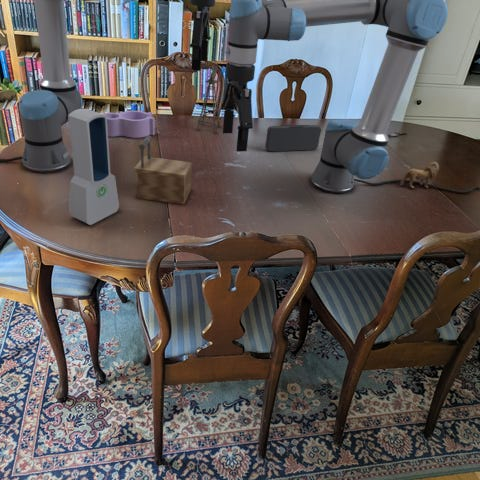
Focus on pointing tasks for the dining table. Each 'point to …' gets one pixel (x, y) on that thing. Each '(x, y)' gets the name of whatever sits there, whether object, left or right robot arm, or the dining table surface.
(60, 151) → the left robot arm
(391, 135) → the sword
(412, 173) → the lion figurine
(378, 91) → the right robot arm
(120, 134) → the purple wavy organizer
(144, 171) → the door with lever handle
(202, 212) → the dining table surface
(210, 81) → the miniature windmill
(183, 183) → the chest
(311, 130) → the rounded dark grey slab
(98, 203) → the electronic device
